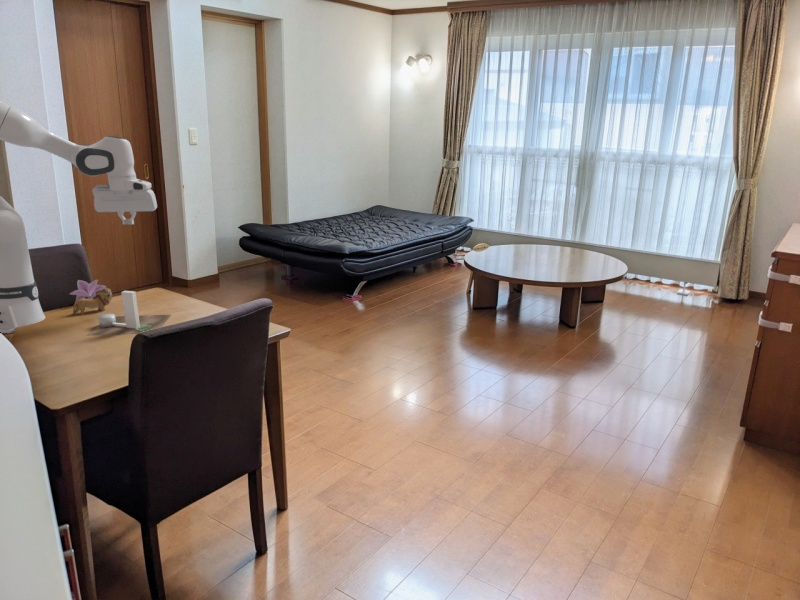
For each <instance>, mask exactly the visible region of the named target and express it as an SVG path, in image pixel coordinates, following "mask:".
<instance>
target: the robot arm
mask: <svg viewBox="0 0 800 600" xmlns="http://www.w3.org/2000/svg"><path fill="white" fill-rule="evenodd" d="M0 140H1V141H2V142H6V143H9V144H11V145H15V146H19V147H23V148H24V147H25V148H34V149H40V150H42V151H45V152H48V153H50V154H53V155H55V156H56V157H57V156H58V157H59V158H62V159H64V160H66V161H68V162H69V163H70V164H72V165H73V166H74V167H75V169H77V170H78V171H79V172H80V173H82V174H84V175H86V176H87V177H98V176H100V175H104V174H106V175H107V180H108V184H96V186H93V188H92V196H93V197H94V198H93V204H94V207H93V208H94V210H95V212H97V213H117V216H118V217H119V218H120V219H121V221H122V223H121V224H122V225H135V220H134V219H135V217H136V216H137V212H154V211H156V209H157V208H158V203H157V199H156V198H157V197H156V194H155V193H154V191H153V190H152V183H151V182H149V181H147V180H142V179H140V178H139V179H138V178H137V174H136V171H135V168H134V167H135V159H134V153H133V148H132V145H131V143H130V141H129V140H128V139H126V138H124V137H120V136H114V135H105V136H104V137H103V138H101V140H98V141H96V142H95V143H92V144H90V145H88V144H78V143H75V142H72V141H70V140H68V139H65V138H64V137H61V136H59V135H57V134H56V133H52V132H51V131H49V130H48V129H47V128H45V127H44V126H43V125H41V124H40V123H39V122H38V121H37V120H36V119H35V118H33V117H32V116H30V115H29V114H27V113H26V112H25V111H22V110H21V109H19V108H16V107H15V106H13V105H10V104H8V103H6V102H4V101H1V100H0ZM126 212H129V215H130V216H131V217H130V218H126V217H125V216H124V214H125V213H126ZM26 234H27V233H26V229H25V225H24V221H23V218H22V216H21V214H20V213H18V211H17V210H16V209H15V208H13V206H11V204H10V203H9V202H8V201H7V200H5V199H4V198H3V197H2V196H1V195H0V332H1V333H0V334H13V333H15V331H16V329H17V328H19V327H21V328H22V327H25V326H29V325H33V324H36V323H39V322H42V321H44V320H45V319H46V315H45V314H44V311H43V308H42V306H41V303H40V300H39V291H38V285H37V282H36V280H35V278H34V272H33V268H32V267H33V266H32V261H31V255H30V251H29V246H28V244H29V243H28V241H27V240H28V239H27V236H26Z"/></svg>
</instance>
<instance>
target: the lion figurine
mask: <svg viewBox="0 0 800 600" xmlns="http://www.w3.org/2000/svg"><path fill="white" fill-rule="evenodd" d="M99 291H100V292H98V293H97V294H96V296H95V297H93V298H84V299H83V298H82V299H78V300H77V301H76V300H75V302H74V304H73V307H72V316H74V315H76V314H77V313H78V312H79V311H80V315H84V314H85V311H86V308H88V309H96V308H97V309H98V311H101V312H105V309H106V306H109V304H110V303H111V301H112V299H113V292H112V289H111V288H108V287H106V288H103V289H101V290H99Z"/></svg>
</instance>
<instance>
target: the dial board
mask: <svg viewBox="0 0 800 600" xmlns="http://www.w3.org/2000/svg"><path fill="white" fill-rule="evenodd" d="M171 317H172V314H151V315H150V314H149V315H147V314H146V315H139V321H140V328H137V329H135V328H127V327H125V326H115V325H114V326H111V327H100V326H99V325H97V326H96V327H95V328H94V329H93V330H92V331H91V332H89V333H88V334H87V335H86V336H110V335H111V336H113V335H137V334H138V333H140V332H143V331H147V330H151V329H156V328H159V327H161V328H163V326H164V324H165V323H166V322H168V320H169V319H170V318H171ZM115 318H116V323H124V324H126V320H125V315H122V316H121V315H120V316H119V315H118V316H116V315H115Z"/></svg>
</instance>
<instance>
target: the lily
mask: <svg viewBox="0 0 800 600" xmlns="http://www.w3.org/2000/svg"><path fill="white" fill-rule="evenodd" d="M76 283H77V289H75V290H74V291H71V292H70V293H69V295H70V296H71V295H72V296H75V297H76V298H75V302H76V301H77V300H78V299H82V298H83V299H86V298H88V299H90V298H93V297H95V296H96V295H97V294H96V292H98V291H100V290H102V289H103V288H107V286H106V285H102V284H98V283H99V279H95V280H93V281H91V282H89V283H88V281H84V280H82V279H81V280H80V279H78V280H77V282H76Z"/></svg>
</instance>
